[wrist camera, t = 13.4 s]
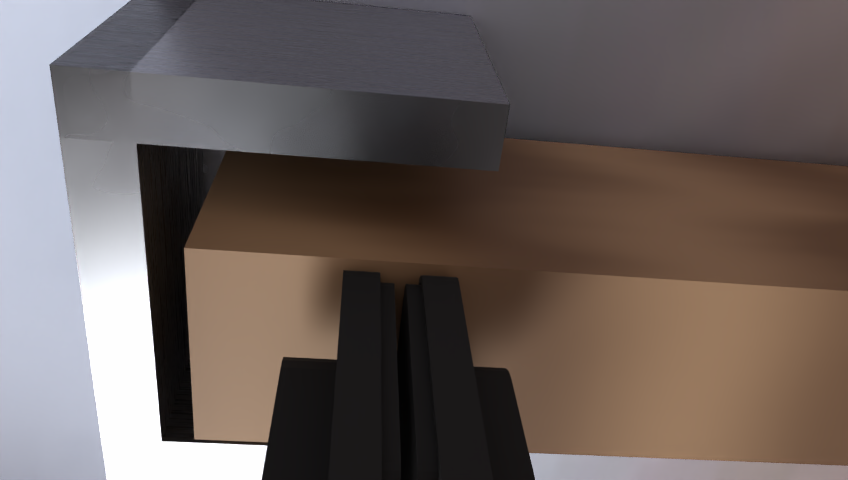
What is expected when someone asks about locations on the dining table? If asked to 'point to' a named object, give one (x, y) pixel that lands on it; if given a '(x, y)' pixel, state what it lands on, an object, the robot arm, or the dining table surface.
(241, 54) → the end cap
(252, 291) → the brown wooden block
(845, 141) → the dining table surface
